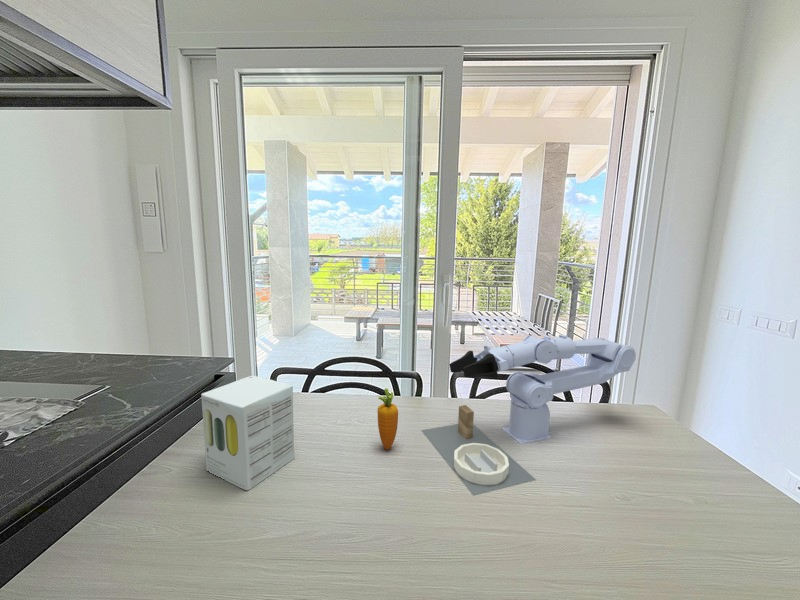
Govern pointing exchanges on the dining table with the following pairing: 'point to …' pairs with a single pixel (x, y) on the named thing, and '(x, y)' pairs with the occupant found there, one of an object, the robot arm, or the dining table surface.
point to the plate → (481, 464)
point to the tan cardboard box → (465, 422)
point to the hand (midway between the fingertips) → (457, 370)
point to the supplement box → (248, 430)
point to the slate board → (451, 439)
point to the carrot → (387, 420)
